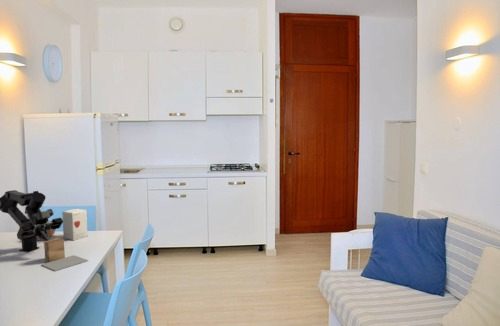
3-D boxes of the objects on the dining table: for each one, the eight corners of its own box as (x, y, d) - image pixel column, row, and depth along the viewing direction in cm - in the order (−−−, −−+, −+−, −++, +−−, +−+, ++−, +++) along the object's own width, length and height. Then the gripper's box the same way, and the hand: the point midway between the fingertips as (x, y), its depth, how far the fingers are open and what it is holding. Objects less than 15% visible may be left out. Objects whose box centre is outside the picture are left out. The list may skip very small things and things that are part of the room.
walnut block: (45, 261, 180) (43, 241, 179) (60, 256, 185) (59, 237, 184) (49, 262, 177) (48, 243, 176) (64, 258, 183) (63, 239, 182)
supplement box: (73, 240, 210) (71, 213, 209) (63, 238, 215) (61, 211, 213) (88, 236, 218) (86, 209, 216) (78, 234, 223) (76, 208, 221)
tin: (37, 242, 209) (36, 226, 208) (31, 241, 209) (30, 226, 208) (56, 234, 223) (55, 219, 223) (51, 234, 224) (50, 219, 223)
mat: (41, 265, 174) (41, 264, 174) (73, 256, 186) (73, 255, 186) (55, 271, 167) (55, 270, 167) (88, 261, 179) (88, 260, 179)
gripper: (19, 208, 177) (32, 236, 172) (59, 201, 192) (73, 226, 187) (12, 222, 183) (25, 250, 177) (52, 215, 198) (65, 240, 192)
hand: (48, 241), depth 183 cm, fingers closed
